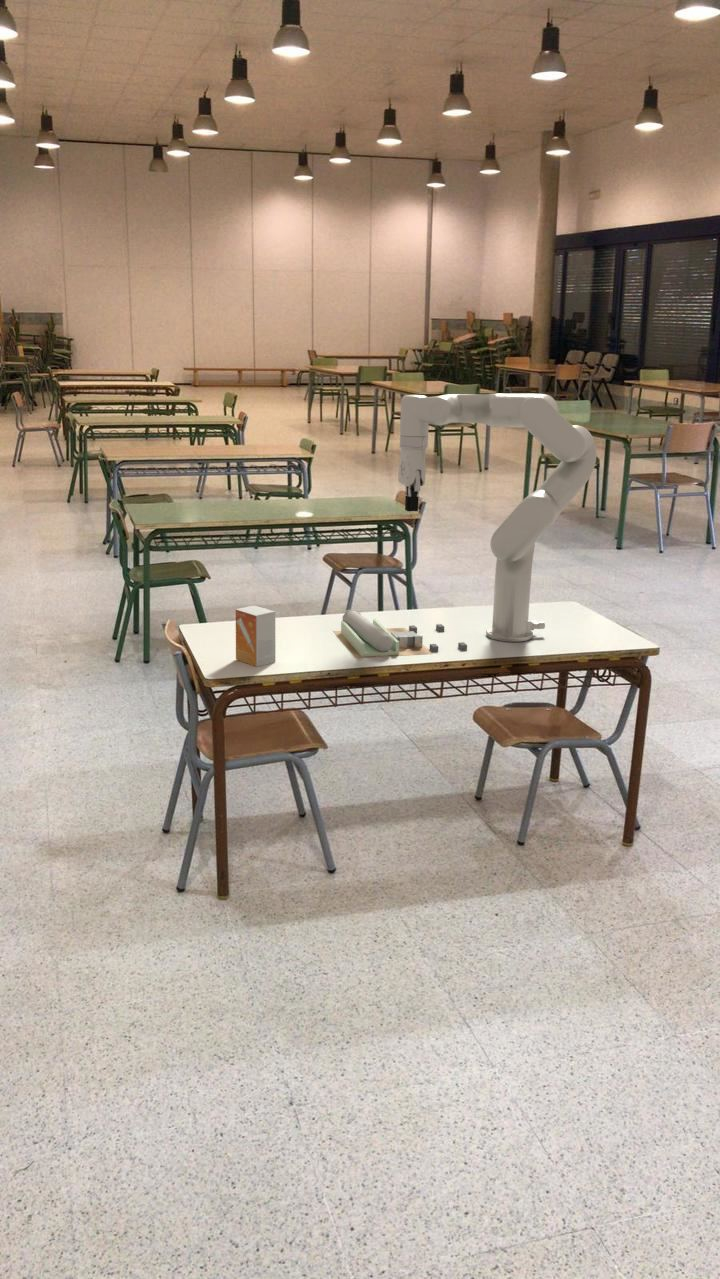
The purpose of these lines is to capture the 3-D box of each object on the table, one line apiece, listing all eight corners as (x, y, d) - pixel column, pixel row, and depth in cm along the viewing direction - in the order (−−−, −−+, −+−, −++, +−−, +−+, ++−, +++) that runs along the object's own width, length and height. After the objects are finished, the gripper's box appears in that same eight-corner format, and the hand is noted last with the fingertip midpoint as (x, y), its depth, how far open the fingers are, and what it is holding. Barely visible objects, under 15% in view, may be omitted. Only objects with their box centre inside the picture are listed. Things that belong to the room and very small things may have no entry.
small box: (235, 660, 268) (234, 608, 264) (255, 655, 272) (254, 604, 269) (256, 667, 262) (256, 615, 259) (276, 662, 267) (276, 611, 263)
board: (404, 631, 296) (404, 627, 295) (433, 658, 273) (433, 653, 272) (333, 635, 291) (333, 631, 291) (355, 662, 268) (356, 658, 267)
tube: (399, 637, 269) (363, 611, 291) (380, 632, 267) (345, 607, 289) (392, 657, 270) (356, 630, 292) (373, 652, 267) (339, 625, 290)
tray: (375, 631, 291) (376, 619, 291) (398, 654, 271) (399, 641, 270) (341, 632, 289) (341, 620, 288) (361, 656, 269) (361, 643, 268)
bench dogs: (420, 645, 279) (420, 634, 278) (422, 647, 278) (422, 636, 277) (398, 646, 278) (398, 635, 277) (399, 648, 276) (400, 637, 275)
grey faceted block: (412, 640, 284) (413, 631, 283) (418, 645, 279) (418, 636, 278) (390, 641, 282) (391, 632, 282) (395, 646, 278) (396, 637, 277)
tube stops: (441, 633, 296) (441, 624, 295) (466, 654, 277) (467, 645, 276) (408, 634, 293) (409, 625, 293) (432, 656, 274) (432, 646, 274)
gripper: (392, 439, 295) (390, 506, 300) (408, 445, 281) (406, 515, 286) (418, 439, 297) (416, 506, 302) (436, 445, 283) (433, 515, 288)
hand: (411, 510), depth 294 cm, fingers closed
